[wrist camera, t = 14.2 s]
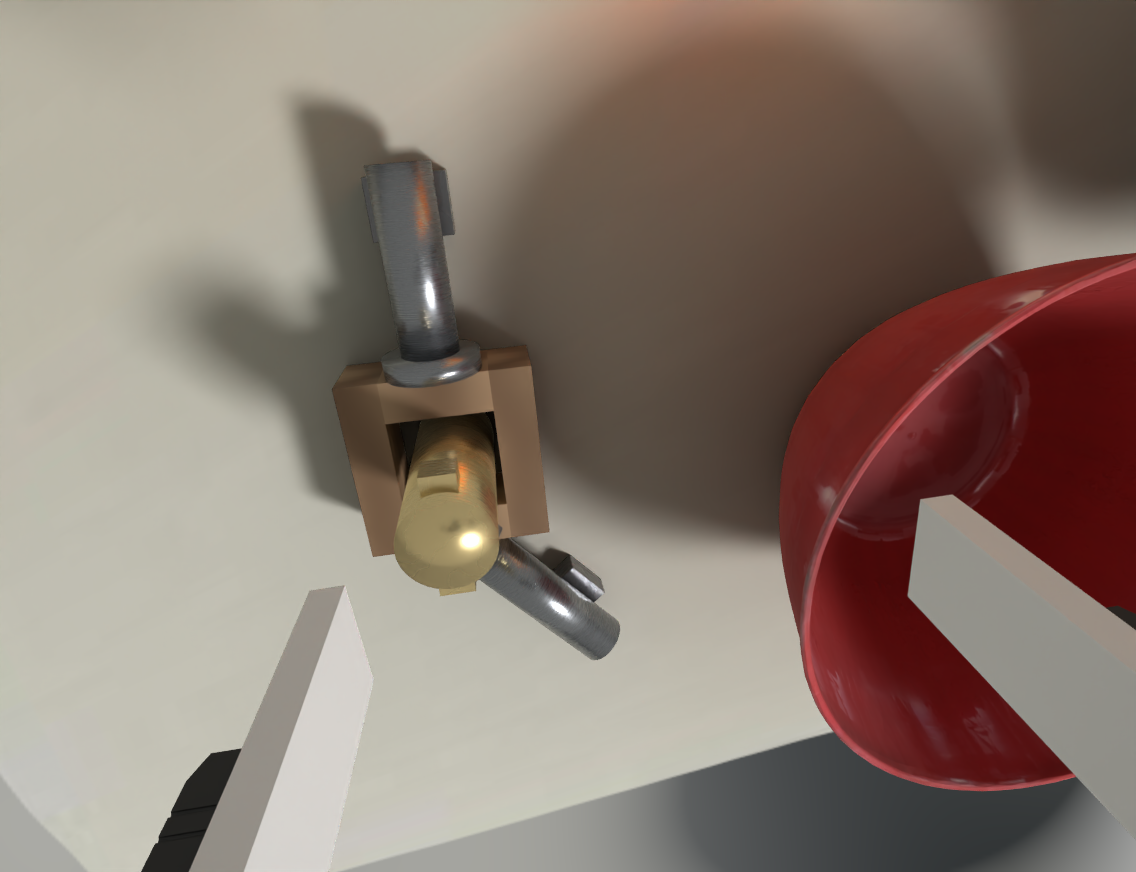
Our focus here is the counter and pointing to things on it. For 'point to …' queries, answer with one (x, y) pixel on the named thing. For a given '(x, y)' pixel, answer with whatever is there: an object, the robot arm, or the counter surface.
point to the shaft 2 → (555, 597)
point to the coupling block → (380, 408)
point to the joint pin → (450, 505)
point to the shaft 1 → (417, 273)
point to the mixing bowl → (977, 478)
